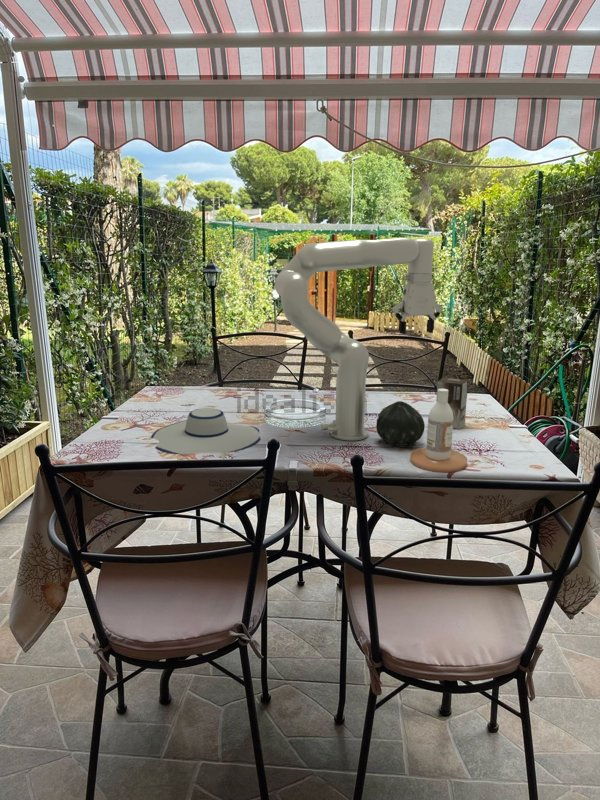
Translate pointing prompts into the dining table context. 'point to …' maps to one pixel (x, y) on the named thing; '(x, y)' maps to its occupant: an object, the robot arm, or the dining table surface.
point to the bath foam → (440, 428)
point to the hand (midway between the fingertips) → (416, 332)
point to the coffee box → (455, 398)
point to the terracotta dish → (438, 461)
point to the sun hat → (205, 434)
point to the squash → (400, 424)
